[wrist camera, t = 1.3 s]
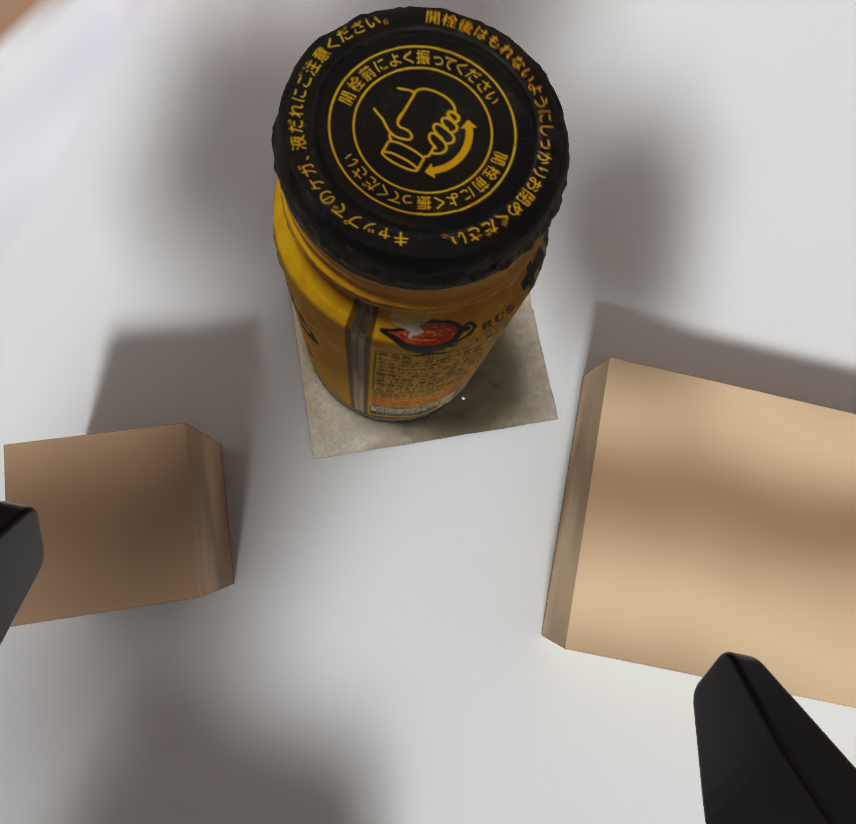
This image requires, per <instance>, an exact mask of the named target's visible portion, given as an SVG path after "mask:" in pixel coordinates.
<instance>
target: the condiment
mask: <svg viewBox="0 0 856 824" xmlns="http://www.w3.org/2000/svg"><path fill="white" fill-rule="evenodd" d="M272 148H273V152H274V160H275V161H274V170H275V172H276V173H277V175H278V179H277V183H276V189H275V193H274V210H273V230H274V241H275V244H276V249H277V255H278V260H279V264H280V266H281V267H282V269H283V271H284V273H285V277H286V282H287V285H288V288H289V293H290V300H291V306H292V313H293V320H294V327H295V334H296V341H297V347H298V354H299V361H300V368H301V375H302V382H303V389H304V396H305V403H306V410H307V417H308V424H309V431H310V438H311V445H312V452H313V458H314V459H317V458H323V457H329V456H336V455H342V454H348V453H355V452H361V451H368V450H374V449H378V448H386V447H393V446H399V445H406V444H411V443H416V442H423V441H429V440H435V439H442V438H447V437H452V436H457V435H463V434H470V433H477V432H483V431H490V430H496V429H504V428H508V427H514V426H519V425H524V424H530V423H537V422H544V421H550V420H556V419H558V417H557V413H556V409H555V404H554V400H553V397H552V393H551V390H550V385H549V380H548V376H547V372H546V367H545V362H544V358H543V353H542V349H541V346H540V341H539V337H538V331H537V326H536V322H535V317H534V312H533V309H532V308H531V299H530V293H529V292H530V291H531V289H532V288H533V287H534V285H535V282H536V279H537V277H538V275H539V272H540V270H541V267H542V264H543V260H544V257H545V255H546V247H547V245H548V232H549V227H550V224H551V220H552V219H553V218H554V217H555V216H556V214H557V212H558V211H559V209H560V205H561V203H562V193H563V191H564V189H565V187H566V185H567V172H568V169H569V159H570V157H569V151H568V150H569V142H568V132H567V129H566V125H565V121H564V115H563V109H562V106H561V104H560V102H559V99H558V97H557V95H556V93H555V90H554V88H553V87H552V86H551V84H550V82H549V80H548V77H547V75H546V73H545V72H544V71H543V70H542V68H541V66H540V65H539V64H538V63H537V62H535V61H534V60H533V59H532V58H531V57H530V56H529V55H528V54H527V53H526V52H525V51H524V50H523V49H522V48H521V47H520V46H519V45H517V44H516V43H515V42H514V41H513V40H512V39H511V38H509V37H508V36H506V35H505V34H503V33H501V32H500V31H498V30H496V29H494V28H493V27H490V26H487V25H485V24H484V23H483V22H481V21H478V20H474V19H471V18H468V17H465V16H462V15H459V14H456V13H454V12H451V11H449V10H447V9H443V8H425V7H412V6H409V7H405V8H402V7H398V8H394V9H389V10H381V11H375V12H372V13H369V14H360V15H359V16H357V17H355V18H353V19H352V20H351V21H349V22H348V23H346V24H345V25H343V26H341V27H339V28H338V29H336V30H334V31H332V32H330V33H328V34H326V35H323V36H321V37H319V38H318V39H317V40H316V41H315V42H314V43H313V44H312V45H311V46H310V47H309V48H308V49H307V50H306V51H305V53H304V54H303V56H302V57H301V58H300V60H299V61H298V63H297V64H296V66H295V67H294V69H293V72H292V74H291V77H290V79H289V81H288V82H287V84H286V87H285V89H284V92H283V95H282V98H281V102H280V107H279V113H278V115H277V118H276V120H275V123H274V125H273V134H272ZM461 397H465V400H462V398H461Z"/></svg>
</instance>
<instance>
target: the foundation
mask: <svg viewBox="0 0 856 824" xmlns="http://www.w3.org/2000/svg"><path fill="white" fill-rule="evenodd" d="M542 636H544V637H545V638H547V639H549V640H551V641H552V642H554V643H556V644H558V645H559V646H561V647H563V648H565V649H569V650H574V651H579V652H583V653H588V654H593V655H598V656H603V657H608V658H613V659H618V660H623V661H628V662H633V663H637V664H642V665H647V666H652V667H657V668H662V669H667V670H672V671H677V672H682V673H686V674H691V675H696V676H701V677H703V676H704V675H705V674H706V673H707V671H708V670H709V669H710V667H711V666H712V665H713V664H714V662H715V661H716V660H717V658H718V657H719V656H720V655H721V654H723V653H725V652H733V653H738V654H743V655H748V656H752V657H754V658H756V659H758V660H759V661H760V662H761V663H762V664H764V666H765V667H766V668H767V669H768V670H769V671H770V672H771V673H772V675H773V676H774V677H775V678H776V679H777V680H778V681H779V682H780V684H781V685H782V686H783V687H784V688H785V689H786V690H787V691H788V693H789V694H790V695H794V696H799V697H804V698H809V699H814V700H819V701H824V702H829V703H834V704H838V705H843V706H848V707H853V708H856V414H853V413H849V412H844V411H840V410H836V409H831V408H827V407H823V406H818V405H814V404H810V403H806V402H801V401H797V400H793V399H788V398H784V397H780V396H775V395H771V394H767V393H762V392H758V391H754V390H749V389H745V388H741V387H736V386H732V385H728V384H724V383H719V382H715V381H711V380H706V379H702V378H698V377H693V376H689V375H685V374H680V373H676V372H672V371H667V370H663V369H659V368H655V367H650V366H646V365H642V364H637V363H633V362H629V361H624V360H620V359H616V358H611V357H609V358H608V359H607V360H605V361H604V362H602V363H601V364H600V365H598V366H597V367H595V368H594V369H593V370H591V371H590V372H588V373H587V374H586V375H584V377H583V383H582V389H581V395H580V402H579V408H578V414H577V420H576V426H575V432H574V439H573V445H572V451H571V457H570V463H569V470H568V476H567V482H566V488H565V494H564V500H563V507H562V513H561V519H560V525H559V531H558V537H557V544H556V550H555V556H554V562H553V568H552V574H551V581H550V587H549V593H548V599H547V605H546V612H545V618H544V624H543V630H542Z"/></svg>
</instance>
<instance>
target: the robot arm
mask: <svg viewBox="0 0 856 824" xmlns="http://www.w3.org/2000/svg"><path fill="white" fill-rule="evenodd" d="M43 560H44V546H43V540H42V534H41V528H40V522H39V516H38V513H37V511H36V510H35V509H34V508H33V507H31V506H27V505H22V504H17V503H12V502H7V501H0V644H1V642H2V641H3V639H4V637H5V635H6V633H7V631H8V629H9V627H10V626H11V624H12V622H13V620H14V618H15V616H16V614H17V612H18V611H19V609H20V607H21V605H22V603H23V601H24V599H25V598H26V596H27V594H28V592H29V590H30V588H31V586H32V584H33V583H34V581H35V579H36V577H37V575H38V573H39V571H40V569H41V567H42V564H43ZM693 702H694V715H695V725H696V735H697V746H698V756H699V766H700V777H701V787H702V797H703V806H704V814H705V822H706V824H856V768H855V767H854V766H853V765H852V764H851V762H850V761H849V760H848V759H847V758H846V757H845V756H844V755H843V753H842V752H841V751H840V750H839V749H838V748H837V747H836V746H835V744H834V743H833V742H832V741H831V740H830V739H829V738H828V737H827V735H826V734H825V733H824V732H823V731H822V730H821V729H820V728H819V726H818V725H817V724H816V723H815V722H814V721H813V720H812V718H811V717H810V716H809V715H808V714H807V713H806V712H805V711H804V709H803V708H802V707H801V706H800V705H799V704H798V703H797V702H796V700H795V699H794V698H793V697H792V696H791V695H790V694H789V693H788V691H787V690H786V689H785V688H784V687H783V686H782V685H781V684H780V682H779V681H778V680H777V679H776V678H775V677H774V676H773V675H772V673H771V672H770V671H769V670H768V669H767V668H766V667H765V666H764V664H762V663H761V662H760V661H759V660H758V659H756V658H754V657H752V656H748V655H743V654H738V653H733V652H725V653H723V654H721V655H720V656H719V657H718V658H717V660H716V661H715V662H714V664H713V665H712V666H711V667H710V669H709V670H708V671H707V673H706V674H705V675H704V676H703V678H702V679H701V680H700V682H699V683H698V685H697V687H696V689H695V692H694V700H693Z"/></svg>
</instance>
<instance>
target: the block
mask: <svg viewBox="0 0 856 824" xmlns="http://www.w3.org/2000/svg"><path fill="white" fill-rule="evenodd" d="M4 469H5V499H6V501H7V502H12V503H17V504H22V505H27V506H31V507H33V508H34V509H35V510H36V511H37V513H38V516H39V522H40V528H41V534H42V540H43V546H44V560H43V564H42V567H41V569H40V571H39V573H38V575H37V577H36V579H35V581H34V583H33V584H32V586H31V588H30V590H29V592H28V594H27V596H26V598H25V599H24V601H23V603H22V605H21V607H20V609H19V611H18V612H17V614H16V616H15V618H14V620H13V622H12V624H11V626H18V625H24V624H30V623H37V622H43V621H50V620H56V619H63V618H69V617H76V616H82V615H88V614H95V613H101V612H108V611H114V610H121V609H127V608H134V607H140V606H146V605H153V604H159V603H166V602H172V601H179V600H185V599H192V598H198V597H202V596H204V595H207V594H209V593H212V592H214V591H217V590H219V589H222V588H224V587H227V586H229V585H232V584H234V578H233V567H232V556H231V546H230V535H229V524H228V513H227V502H226V491H225V480H224V469H223V458H222V447H221V444H219V443H217V442H216V441H214V440H212V439H211V438H209V437H208V436H206V435H204V434H203V433H201V432H200V431H198V430H196V429H195V428H193V427H192V426H190V425H188V424H187V423H179V424H171V425H163V426H155V427H146V428H138V429H130V430H122V431H114V432H105V433H97V434H89V435H81V436H73V437H65V438H56V439H48V440H40V441H32V442H24V443H15V444H7V445H4ZM11 626H10V627H11Z"/></svg>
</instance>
